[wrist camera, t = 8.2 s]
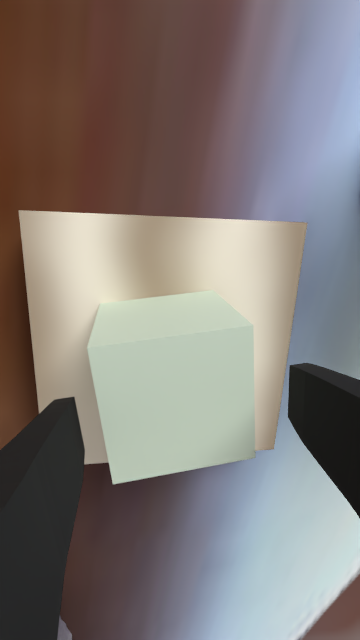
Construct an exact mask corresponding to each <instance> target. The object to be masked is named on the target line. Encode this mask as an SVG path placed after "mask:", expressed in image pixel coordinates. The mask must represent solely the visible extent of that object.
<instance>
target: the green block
mask: <svg viewBox="0 0 360 640" xmlns="http://www.w3.org/2000/svg"><path fill="white" fill-rule="evenodd" d="M87 351H88V356H89V361H90V367H91V372H92V377H93V382H94V388H95V393H96V398H97V403H98V409H99V414H100V419H101V424H102V430H103V435H104V440H105V445H106V451H107V456H108V461H109V466H110V472H111V477H112V482H113V484H118V483H123V482H129V481H134V480H139V479H145V478H150V477H155V476H161V475H166V474H171V473H177V472H182V471H188V470H193V469H198V468H204V467H209V466H214V465H220V464H225V463H231V462H236V461H241V460H247V459H252V458H255V401H254V333H253V324H251V323H250V322H249V321H248V320H247V319H246V318H245V317H243V316H242V315H241V314H240V313H239V312H238V311H236V310H235V309H234V308H233V307H232V306H231V305H230V304H228V303H227V302H226V301H225V300H224V299H223V298H222V297H220V296H219V295H218V294H217V293H216V292H215V291H214V290H209V291H200V292H192V293H184V294H175V295H167V296H159V297H151V298H142V299H134V300H126V301H117V302H109V303H101V304H100V306H99V309H98V312H97V316H96V319H95V322H94V326H93V329H92V333H91V336H90V339H89V343H88V346H87Z"/></svg>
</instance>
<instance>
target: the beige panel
mask: <svg viewBox="0 0 360 640" xmlns="http://www.w3.org/2000/svg"><path fill="white" fill-rule="evenodd" d="M19 218H20V228H21V238H22V248H23V258H24V268H25V278H26V288H27V298H28V308H29V318H30V328H31V338H32V348H33V358H34V368H35V377H36V387H37V397H38V407H39V414H40V413H41V412H42V411H43V410H44V409H45V408H46V407H47V406H48V405H49V404H50V403H51V402H52V401H53V400H54V399H61V398H68V397H75V402H76V407H77V412H78V417H79V422H80V427H81V432H82V437H83V442H84V447H85V459H84V464H95V463H108V462H109V461H108V456H107V451H106V445H105V440H104V435H103V430H102V424H101V419H100V414H99V409H98V403H97V398H96V393H95V388H94V382H93V377H92V372H91V367H90V361H89V356H88V351H87V346H88V343H89V339H90V336H91V333H92V329H93V326H94V322H95V319H96V316H97V312H98V309H99V306H100V304H101V303H109V302H117V301H126V300H134V299H142V298H151V297H159V296H167V295H175V294H184V293H192V292H200V291H209V290H214V291H215V292H216V293H217V294H218V295H219V296H220V297H222V298H223V299H224V300H225V301H226V302H227V303H228V304H230V305H231V306H232V307H233V308H234V309H235V310H236V311H238V312H239V313H240V314H241V315H242V316H243V317H245V318H246V319H247V320H248V321H249V322H250V323H251V324H253V333H254V401H255V451H257V450H270V449H274V444H275V437H276V431H277V424H278V417H279V410H280V404H281V397H282V390H283V384H284V377H285V370H286V363H287V357H288V350H289V343H290V336H291V330H292V323H293V316H294V310H295V303H296V296H297V289H298V283H299V276H300V269H301V263H302V256H303V249H304V242H305V236H306V229H307V223H304V222H281V221H257V220H234V219H210V218H187V217H163V216H139V215H116V214H92V213H69V212H45V211H22V210H19Z"/></svg>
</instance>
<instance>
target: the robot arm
mask: <svg viewBox="0 0 360 640" xmlns="http://www.w3.org/2000/svg"><path fill="white" fill-rule="evenodd" d="M288 418H289V420H290V421H291V423H292V425H293V427H294V429H295V430H296V432H297V434H298V435H299V437H300V439H301V441H302V442H303V443H304V445H305V446H306V447H307V449H308V450H309V451H310V453H311V454H312V455H313V457H314V458H315V459H316V461H317V462H318V463H319V464H320V466H321V467H322V468H323V470H324V471H325V472H326V473H327V475H328V476H329V477H330V479H331V480H332V481H333V482H334V484H335V485H336V486H337V488H338V489H339V490H340V491H341V493H342V494H343V495H344V497H345V498H346V499H347V501H348V502H349V503H350V505H351V506H352V508H353V509H354V510H355V512H356V513H357V515H358V516H359V518H360V380H358V379H355V378H352V377H349V376H346V375H343V374H341V373H338V372H335V371H332V370H329V369H326V368H323V367H320V366H317V365H313V364H309V363H303V364H296V365H290V373H289V400H288ZM84 459H85V447H84V442H83V437H82V432H81V427H80V422H79V417H78V412H77V407H76V402H75V397H68V398H61V399H54V400H53V401H52V402H51V403H50V404H49V405H48V406H47V407H46V408H45V409H44V410H43V411H42V412H41V413H40V414H38V415H37V416H36V417H35V418H34V419H33V420H32V421H31V422H30V423H29V424H28V425H27V426H26V427H25V428H24V429H23V430H22V431H21V432H20V433H19V434H18V435H17V436H16V437H15V438H14V439H12V440H11V441H10V442H9V443H8V444H7V445H6V446H4V447H3V448H2V449H1V450H0V640H57V637H58V627H59V617H60V608H61V599H62V590H63V581H64V573H65V567H66V561H67V555H68V550H69V546H70V541H71V536H72V531H73V526H74V521H75V517H76V512H77V507H78V502H79V497H80V492H81V487H82V482H83V472H84Z"/></svg>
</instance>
